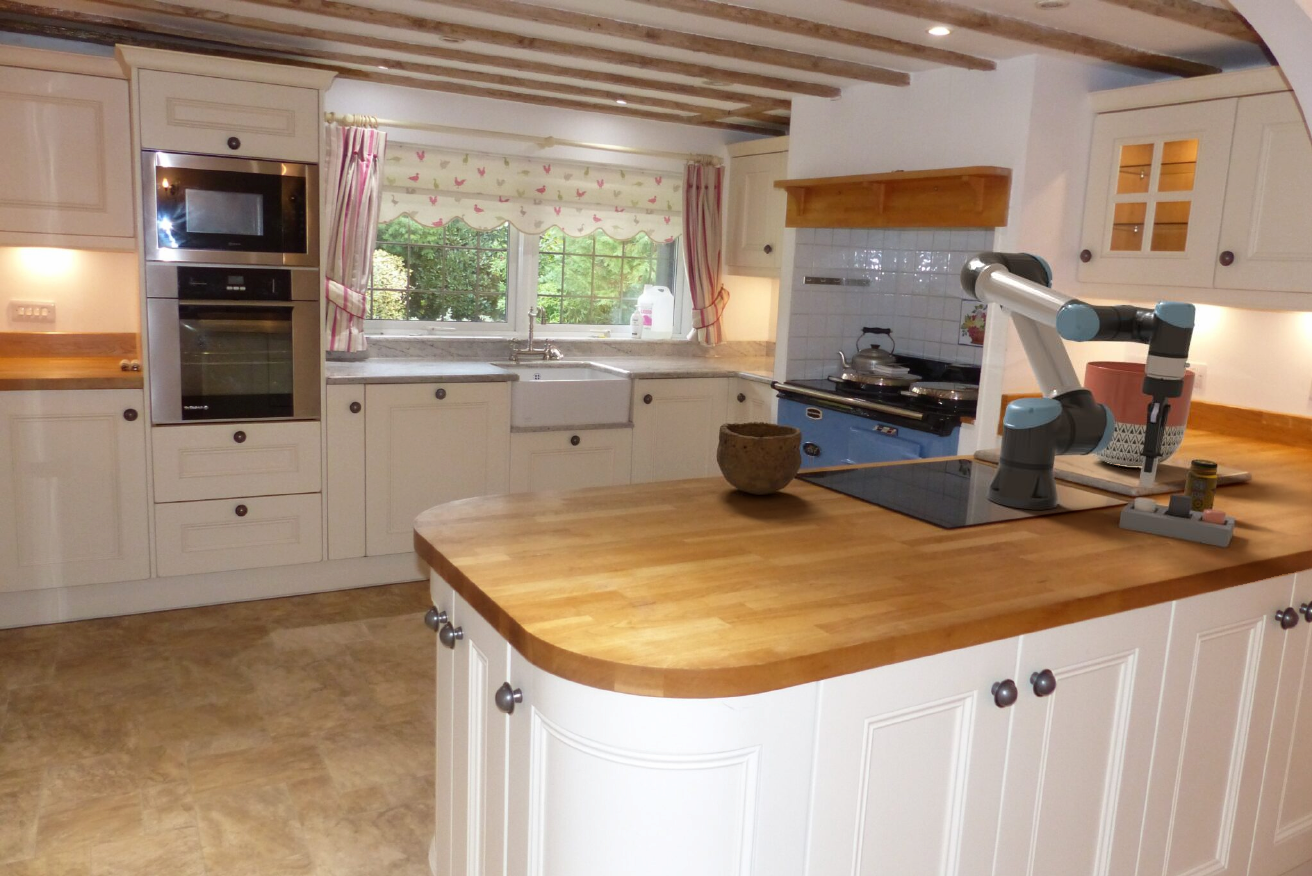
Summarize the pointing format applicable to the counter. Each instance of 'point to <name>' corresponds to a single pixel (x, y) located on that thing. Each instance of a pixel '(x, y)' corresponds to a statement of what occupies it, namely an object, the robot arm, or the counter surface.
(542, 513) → the counter surface
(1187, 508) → the black button
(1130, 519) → the button board
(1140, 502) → the white button
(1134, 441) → the planter
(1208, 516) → the red button
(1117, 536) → the counter surface
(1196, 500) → the condiment
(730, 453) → the bowl
